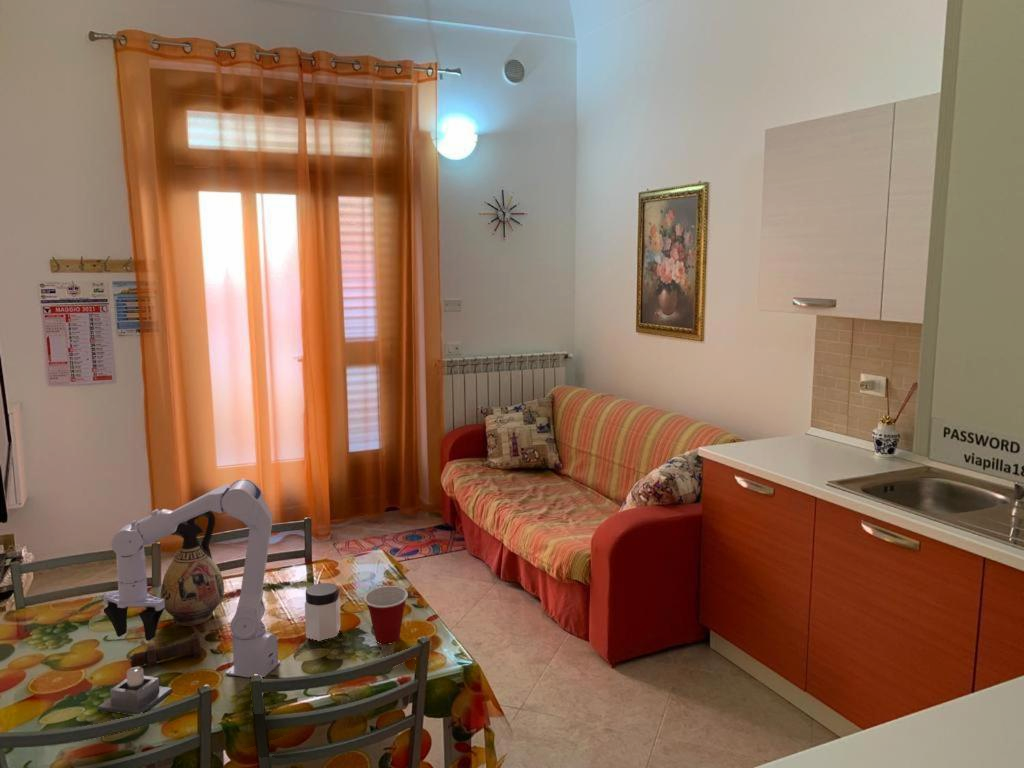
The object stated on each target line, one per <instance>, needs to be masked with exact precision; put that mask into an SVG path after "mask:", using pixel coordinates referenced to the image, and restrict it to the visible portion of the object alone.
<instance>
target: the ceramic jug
mask: <svg viewBox="0 0 1024 768" xmlns="http://www.w3.org/2000/svg"><path fill="white" fill-rule="evenodd" d="M202 517H205V518H207V525H206V530H205V533H204V536H203V538H202V541H201V543H200V541H199V539H198V537H197V536H198V535H199V534H202V533H203V532H204V529H203V528H202V526H200V525H199V524H198V523H196V522H195V521H196V520H197V519H198V518H202ZM215 526H216V516H215V514H214V513H213V511H208V512H205V513H203V514H201V515H198V516H196V517H194V518H191V519H189V520H187V521H184V522H182V523H180V524H178V527H177V530H176V531H175V532H174V533H172V534H170V535H172V536H178V537H181V538H182V539H183V541H182V545H181V546H180V549H179V550H178V552H177V553H176V555H175V556H174V557H173V559H172V561H171V562H170V564H169V566H168V568H167V569H166V571H165V574H164V576H163V579H162V583H161V588H160V599H164V602H165V609H164V611H166V613H168V614H169V615H170V616H171V617H172V618H174V624H177V626H182V627H183V626H184V627H191V626H196V625H200V624H203V623H205V622H207V621H208V620H210V619H211V618H212V616H213V615H214V611H215V610H216V608H217V607H219V604H221V602H222V600H223V597H224V593H225V586H224V585H225V583H224V579H223V578H224V577H223V575H222V572H221V571H220V568H219V567H218V565H217V563H216V562H215V560H214V559H213V557H212V554H211V553H212V552H211V549H210V543H211V540H212V535H213V533H214V527H215ZM226 607H227V606H226Z"/></svg>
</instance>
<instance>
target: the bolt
mask: <svg viewBox="0 0 1024 768" xmlns="http://www.w3.org/2000/svg"><path fill="white" fill-rule="evenodd" d="M190 635H191V639H187V640H184V641H181V642H177V643H173V644H168V645H164V646H161V647H156V646H155V645H154V644H151V645H147V647H146V650H145V651H144V650H143V651H140V652H135V653H133V654H132V655H130V656H129V660H131V661H130V668H133V667H142V666H146V665H148V666H147V667H148V668H153V667H157V666H158V662H159V663H160V662H163V661H166V660H170V659H176V658H180V657H184V656H190V655H193V657H194V659H197V658H200V657H201V656H202V647H201V640H200V635H199V633H197V632H194V633H191V634H190Z"/></svg>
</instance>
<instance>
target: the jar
mask: <svg viewBox="0 0 1024 768" xmlns="http://www.w3.org/2000/svg"><path fill="white" fill-rule="evenodd" d="M339 594H340V591H339V586H338V585H336V584H334V583H329V582H321V583H316V584H315V583H314V584H312V585H310V586H308V587H307V588H306V589H305V603H304V617H305V638H306V639H309V638H310V640H312V639H313V640H312V641H315V640H317V641H316V642H319V641H321V640H324V639H328V638H332V637H335V636H337V635H338V636H339V634H340V632H339V630H340V631H341V629H340V628H341V602H340V601H341V598H340V596H341V595H339ZM338 633H339V634H338ZM338 636H337V637H338ZM321 642H322V641H321Z"/></svg>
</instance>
